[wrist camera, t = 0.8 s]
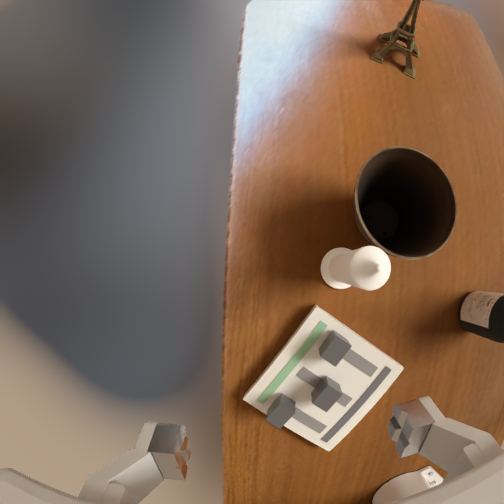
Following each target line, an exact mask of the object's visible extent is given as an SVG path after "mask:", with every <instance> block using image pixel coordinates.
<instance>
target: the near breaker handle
mask: <svg viewBox="0 0 504 504" xmlns="http://www.w3.org/2000/svg"><path fill="white" fill-rule="evenodd" d="M351 347H352V346H351V344H350V343H349V341H348V340H347V339H346V338H344V337H343V336H342V335H340V334H339V333H337V332H336V331H334V330H332V332H331V333H330V334H329V336H328V337H327V338H326V340H325V341H324V342H323V344H322V345H321V346H320V347H319V349H318V350H319V354H320V357H321V358H323V359H324V360H326V361H327V362H329V363H330V364H332V365H333V366H335V367H336V366H337V364H338V363H339V362H340V361H341V359H342V358H343V357H344V356H345V354H346V353H347V352H348V351H349V349H350V348H351Z"/></svg>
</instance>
